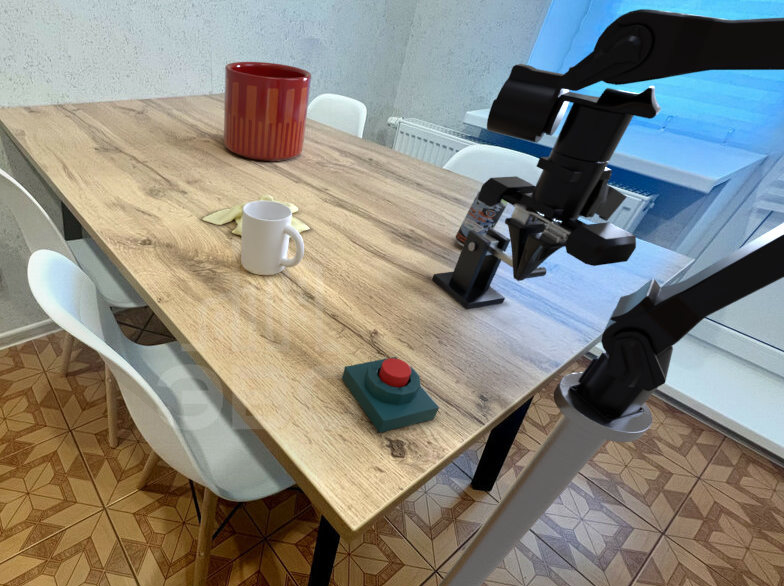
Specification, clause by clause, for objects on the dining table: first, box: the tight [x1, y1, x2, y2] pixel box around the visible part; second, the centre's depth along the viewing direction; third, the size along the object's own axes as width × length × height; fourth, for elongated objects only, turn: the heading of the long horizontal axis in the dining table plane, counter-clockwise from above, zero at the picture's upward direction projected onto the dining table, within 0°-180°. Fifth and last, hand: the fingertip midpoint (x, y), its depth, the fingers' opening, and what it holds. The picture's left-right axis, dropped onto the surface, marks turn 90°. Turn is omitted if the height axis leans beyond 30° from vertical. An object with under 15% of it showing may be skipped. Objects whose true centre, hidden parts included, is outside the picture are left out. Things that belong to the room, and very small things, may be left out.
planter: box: [223, 61, 312, 162], centre depth 129 cm, size 23×23×20 cm
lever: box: [482, 235, 547, 280], centre depth 74 cm, size 12×5×2 cm, turn 20°
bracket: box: [431, 228, 511, 310], centre depth 80 cm, size 10×8×11 cm
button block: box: [341, 356, 440, 434], centre depth 59 cm, size 10×8×4 cm
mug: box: [240, 200, 305, 276], centre depth 80 cm, size 12×8×10 cm
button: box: [379, 357, 411, 388], centre depth 57 cm, size 4×4×2 cm
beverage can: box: [455, 190, 509, 247], centre depth 94 cm, size 6×7×12 cm
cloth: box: [201, 194, 311, 239], centre depth 96 cm, size 22×19×6 cm
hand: (518, 279), depth 61 cm, fingers closed
